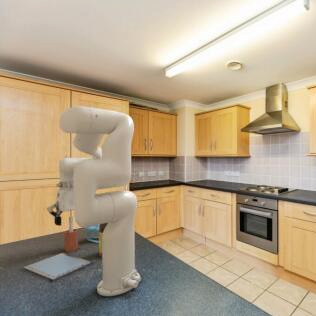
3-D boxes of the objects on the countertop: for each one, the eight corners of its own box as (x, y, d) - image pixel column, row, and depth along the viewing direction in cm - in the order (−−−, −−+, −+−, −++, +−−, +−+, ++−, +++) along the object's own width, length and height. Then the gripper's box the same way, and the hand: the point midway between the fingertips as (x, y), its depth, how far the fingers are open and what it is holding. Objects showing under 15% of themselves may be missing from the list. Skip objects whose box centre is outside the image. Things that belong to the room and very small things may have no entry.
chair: (95, 237, 112) (95, 214, 112) (109, 237, 111) (109, 215, 111) (82, 243, 105) (82, 219, 105) (97, 243, 104) (97, 219, 103)
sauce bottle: (107, 258, 89) (106, 211, 89) (95, 257, 90) (94, 211, 90) (119, 251, 95) (118, 207, 95) (107, 250, 97) (106, 207, 96)
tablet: (91, 263, 85) (91, 261, 85) (52, 281, 73) (52, 278, 73) (62, 254, 93) (62, 252, 93) (23, 269, 81) (23, 267, 81)
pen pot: (80, 249, 98) (79, 230, 98) (68, 253, 94) (68, 233, 94) (74, 247, 100) (73, 228, 100) (62, 251, 95) (62, 232, 95)
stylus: (74, 248, 97) (73, 216, 97) (70, 250, 96) (70, 217, 96) (72, 248, 98) (71, 216, 97) (68, 249, 96) (68, 217, 96)
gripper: (52, 188, 87) (52, 229, 87) (94, 183, 103) (95, 217, 103) (42, 187, 90) (42, 226, 90) (85, 182, 106) (85, 215, 106)
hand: (70, 221), depth 97 cm, fingers open, 9 cm apart
